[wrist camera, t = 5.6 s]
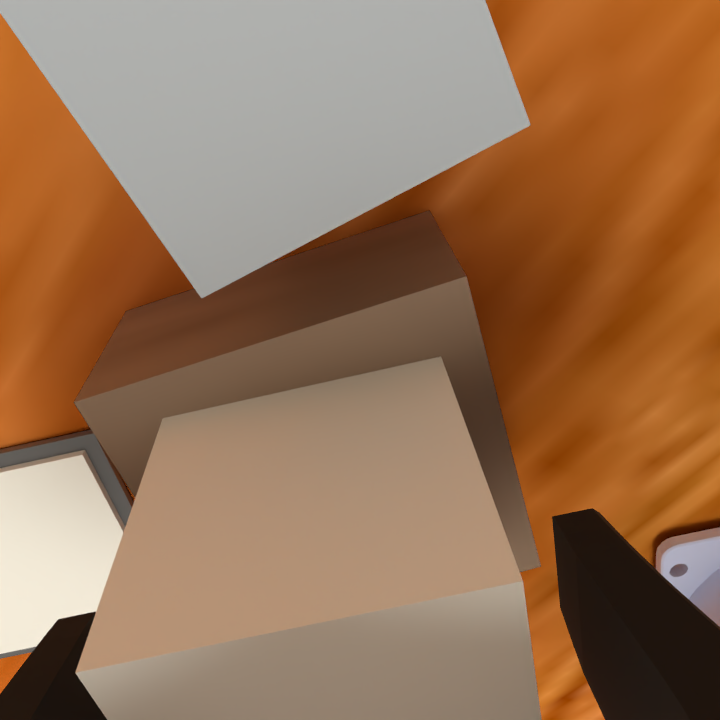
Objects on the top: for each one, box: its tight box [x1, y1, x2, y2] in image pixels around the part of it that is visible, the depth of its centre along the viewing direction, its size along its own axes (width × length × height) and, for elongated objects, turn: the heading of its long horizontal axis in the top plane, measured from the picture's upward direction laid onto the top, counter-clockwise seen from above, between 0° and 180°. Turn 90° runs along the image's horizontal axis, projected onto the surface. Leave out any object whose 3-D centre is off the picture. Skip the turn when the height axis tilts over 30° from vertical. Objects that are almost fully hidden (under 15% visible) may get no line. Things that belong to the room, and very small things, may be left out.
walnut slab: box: [74, 211, 541, 572], centre depth 14 cm, size 7×7×4 cm
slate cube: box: [0, 0, 530, 298], centre depth 10 cm, size 5×5×5 cm
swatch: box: [0, 430, 134, 659], centre depth 18 cm, size 7×7×1 cm
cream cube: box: [75, 357, 541, 720], centre depth 11 cm, size 5×5×5 cm
